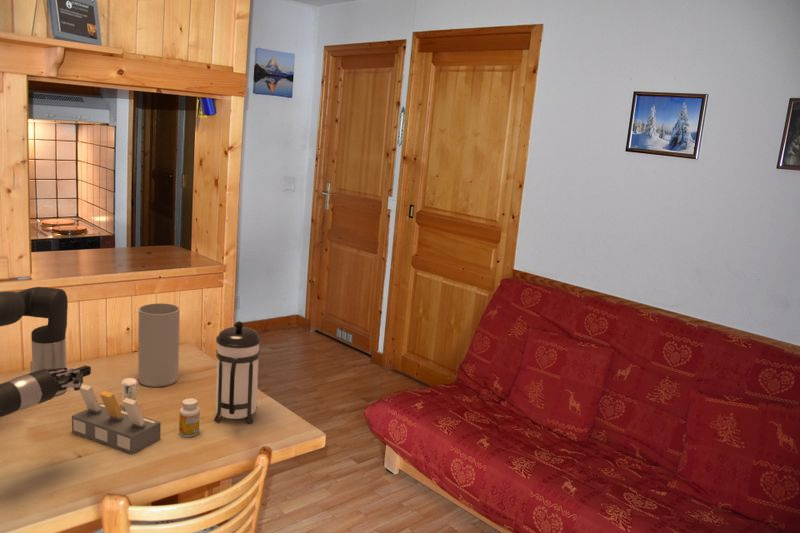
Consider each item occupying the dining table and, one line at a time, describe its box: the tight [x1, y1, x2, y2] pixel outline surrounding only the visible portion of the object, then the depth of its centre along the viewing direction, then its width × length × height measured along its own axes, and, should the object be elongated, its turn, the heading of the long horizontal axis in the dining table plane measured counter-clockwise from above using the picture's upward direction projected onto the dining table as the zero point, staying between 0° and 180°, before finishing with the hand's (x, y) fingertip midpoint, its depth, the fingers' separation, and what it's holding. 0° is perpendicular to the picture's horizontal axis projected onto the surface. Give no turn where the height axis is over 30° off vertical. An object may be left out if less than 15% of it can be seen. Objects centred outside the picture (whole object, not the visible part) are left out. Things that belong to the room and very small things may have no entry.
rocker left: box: [78, 383, 102, 413], centre depth 180 cm, size 4×1×9 cm, turn 67°
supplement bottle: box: [178, 397, 201, 438], centre depth 185 cm, size 5×5×10 cm
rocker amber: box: [99, 390, 124, 420], centre depth 177 cm, size 4×1×9 cm, turn 67°
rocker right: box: [122, 398, 146, 428], centre depth 174 cm, size 4×1×9 cm, turn 67°
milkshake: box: [120, 377, 139, 410], centre depth 197 cm, size 4×5×10 cm
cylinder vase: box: [137, 302, 180, 388], centre depth 216 cm, size 12×12×25 cm
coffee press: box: [213, 321, 262, 425], centre depth 194 cm, size 17×16×30 cm
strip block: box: [71, 402, 162, 455], centre depth 180 cm, size 22×10×5 cm, turn 67°
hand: (88, 369), depth 167 cm, fingers closed
